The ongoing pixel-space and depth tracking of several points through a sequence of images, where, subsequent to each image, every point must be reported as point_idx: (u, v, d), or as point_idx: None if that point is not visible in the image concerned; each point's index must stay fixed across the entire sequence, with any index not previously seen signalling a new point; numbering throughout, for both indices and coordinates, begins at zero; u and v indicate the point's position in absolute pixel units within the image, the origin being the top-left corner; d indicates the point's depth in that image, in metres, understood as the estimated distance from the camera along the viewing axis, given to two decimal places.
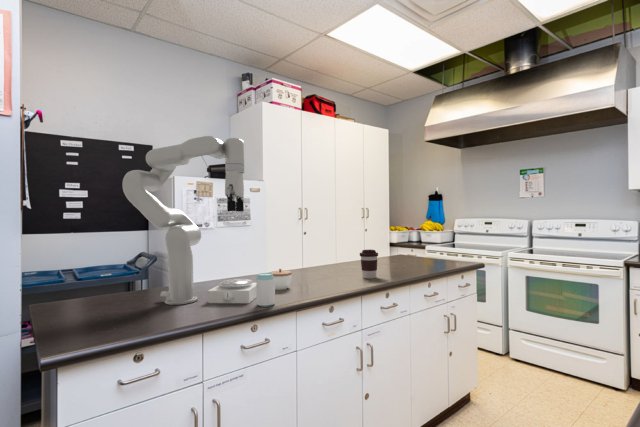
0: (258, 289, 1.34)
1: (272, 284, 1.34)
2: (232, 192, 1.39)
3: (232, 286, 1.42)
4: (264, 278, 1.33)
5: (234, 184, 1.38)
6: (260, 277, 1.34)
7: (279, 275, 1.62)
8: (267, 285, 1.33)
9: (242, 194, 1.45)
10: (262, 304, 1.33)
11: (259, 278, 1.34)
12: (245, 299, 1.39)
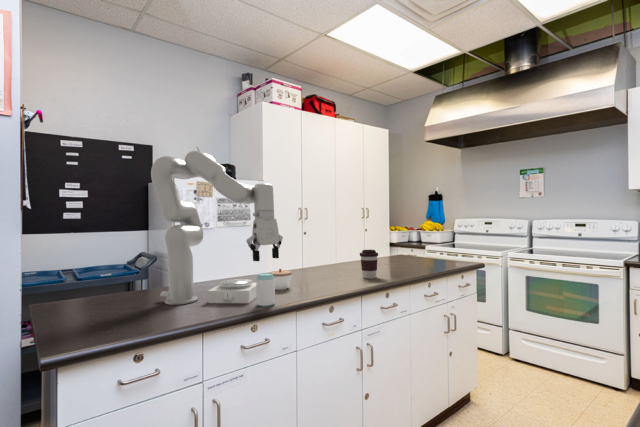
0: (258, 289, 1.34)
1: (272, 284, 1.34)
2: None
3: (232, 286, 1.42)
4: (264, 278, 1.33)
5: None
6: (260, 277, 1.34)
7: (279, 275, 1.62)
8: (267, 285, 1.33)
9: None
10: (262, 304, 1.33)
11: (259, 278, 1.34)
12: (245, 299, 1.39)
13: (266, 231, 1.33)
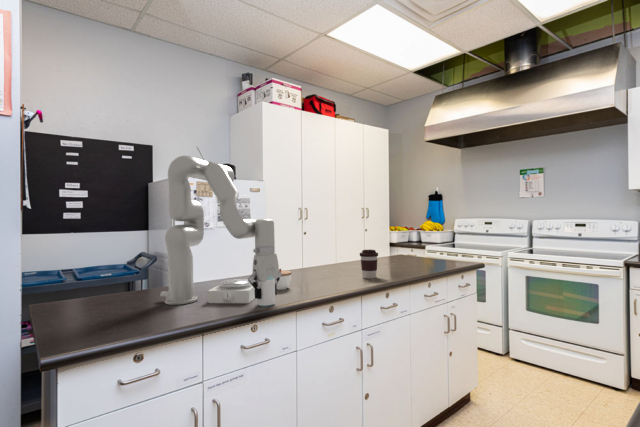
0: None
1: (272, 284, 1.34)
2: None
3: (232, 286, 1.42)
4: None
5: None
6: None
7: None
8: (267, 285, 1.33)
9: None
10: (262, 304, 1.33)
11: None
12: (245, 299, 1.39)
13: (266, 267, 1.33)
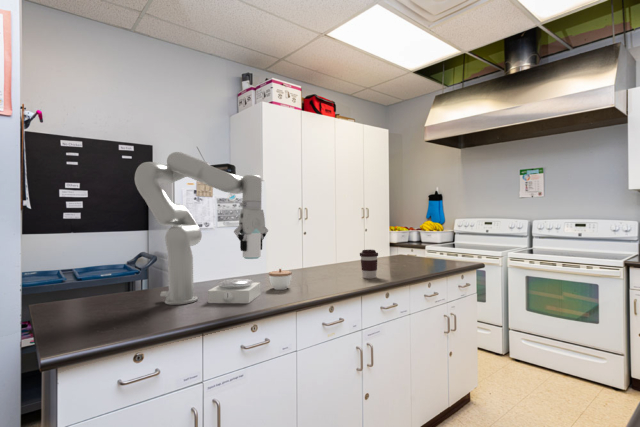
0: None
1: (258, 238, 1.39)
2: None
3: (232, 286, 1.42)
4: None
5: None
6: None
7: (279, 275, 1.62)
8: (252, 238, 1.38)
9: None
10: (247, 256, 1.38)
11: None
12: (245, 299, 1.39)
13: (252, 221, 1.38)
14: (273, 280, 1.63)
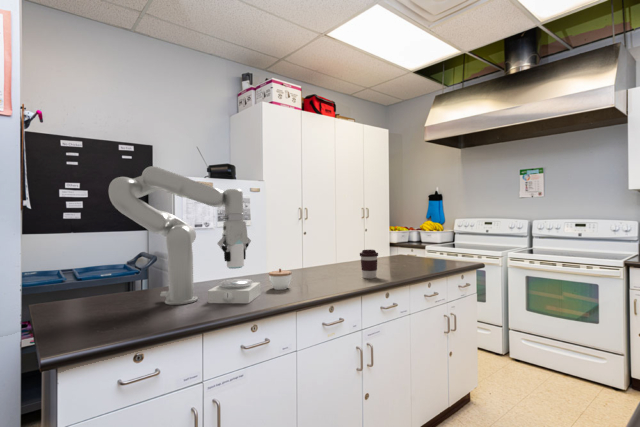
0: None
1: (240, 248, 1.47)
2: None
3: (232, 286, 1.42)
4: None
5: None
6: None
7: (279, 275, 1.62)
8: (235, 249, 1.46)
9: None
10: (231, 266, 1.45)
11: None
12: (245, 299, 1.39)
13: (235, 233, 1.46)
14: (273, 280, 1.63)
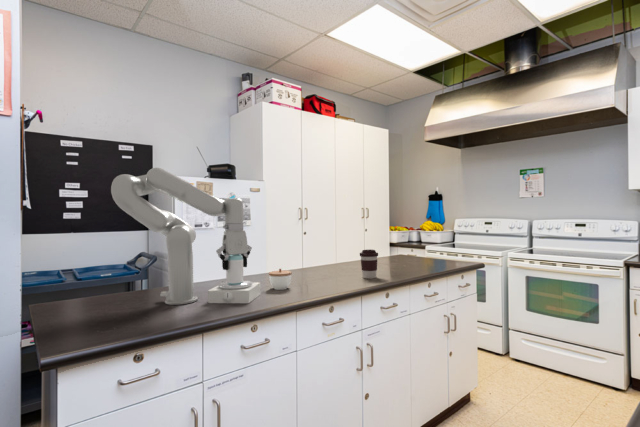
0: None
1: (240, 264, 1.47)
2: None
3: (232, 288, 1.42)
4: (233, 258, 1.46)
5: None
6: (229, 257, 1.46)
7: (279, 275, 1.62)
8: (235, 265, 1.45)
9: None
10: (231, 282, 1.45)
11: (228, 258, 1.46)
12: (245, 299, 1.39)
13: (235, 242, 1.46)
14: (273, 280, 1.63)
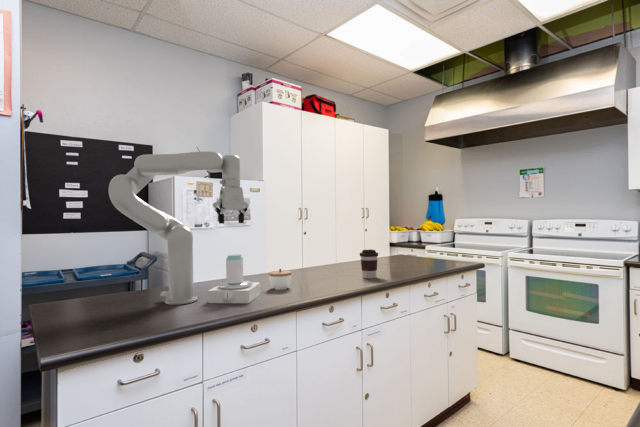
0: (227, 268, 1.46)
1: (240, 264, 1.47)
2: None
3: (232, 288, 1.42)
4: (232, 258, 1.46)
5: None
6: (229, 257, 1.46)
7: (279, 275, 1.62)
8: (235, 265, 1.45)
9: None
10: (230, 282, 1.45)
11: (228, 258, 1.46)
12: (245, 299, 1.39)
13: (231, 197, 1.49)
14: (273, 280, 1.63)
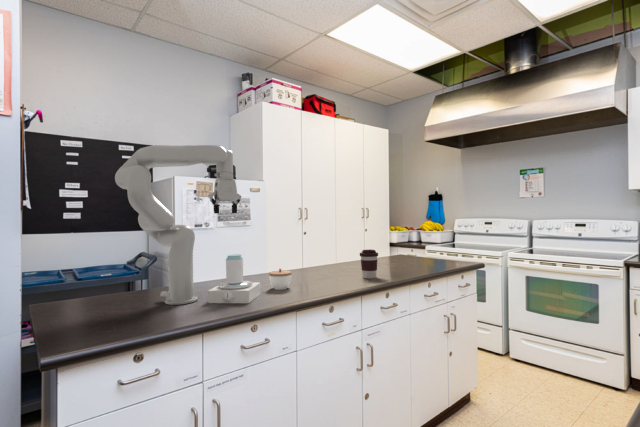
0: (227, 268, 1.46)
1: (240, 264, 1.47)
2: None
3: (232, 288, 1.42)
4: (232, 258, 1.46)
5: None
6: (229, 257, 1.46)
7: (279, 275, 1.62)
8: (235, 265, 1.45)
9: None
10: (230, 282, 1.45)
11: (228, 258, 1.46)
12: (245, 299, 1.39)
13: (225, 189, 1.61)
14: (273, 280, 1.63)
